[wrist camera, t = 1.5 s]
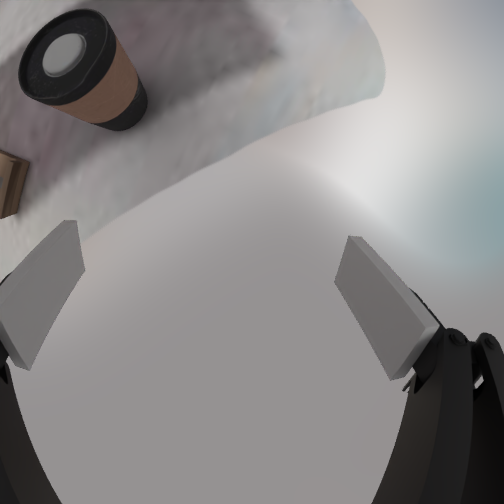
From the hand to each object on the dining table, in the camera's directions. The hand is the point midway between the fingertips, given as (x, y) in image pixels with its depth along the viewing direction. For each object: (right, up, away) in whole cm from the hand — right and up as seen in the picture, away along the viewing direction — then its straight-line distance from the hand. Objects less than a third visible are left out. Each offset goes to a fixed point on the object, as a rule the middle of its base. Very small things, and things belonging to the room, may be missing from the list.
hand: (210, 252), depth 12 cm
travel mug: (-15, +19, +17) cm, 30 cm away
